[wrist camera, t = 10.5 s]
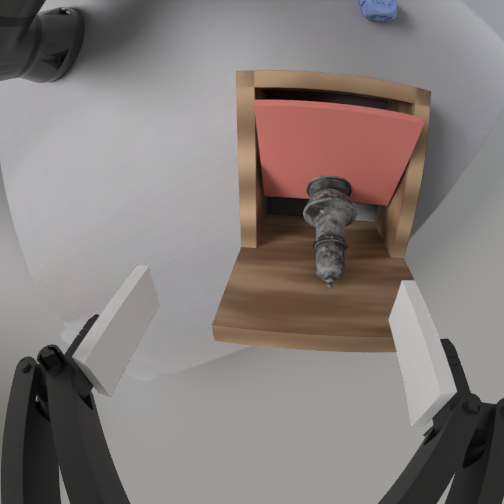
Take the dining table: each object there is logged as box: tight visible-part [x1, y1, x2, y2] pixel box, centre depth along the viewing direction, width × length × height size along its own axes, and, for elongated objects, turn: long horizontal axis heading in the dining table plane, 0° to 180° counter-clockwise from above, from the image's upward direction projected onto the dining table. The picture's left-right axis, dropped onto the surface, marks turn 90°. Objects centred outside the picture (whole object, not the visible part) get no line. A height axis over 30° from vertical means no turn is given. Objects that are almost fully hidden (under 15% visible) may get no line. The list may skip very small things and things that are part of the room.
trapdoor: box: [254, 100, 424, 206], centre depth 27 cm, size 14×15×1 cm
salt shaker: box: [303, 175, 357, 289], centre depth 29 cm, size 6×6×12 cm
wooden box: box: [212, 70, 431, 352], centre depth 27 cm, size 22×20×23 cm
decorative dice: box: [360, 0, 397, 21], centre depth 22 cm, size 4×4×4 cm
